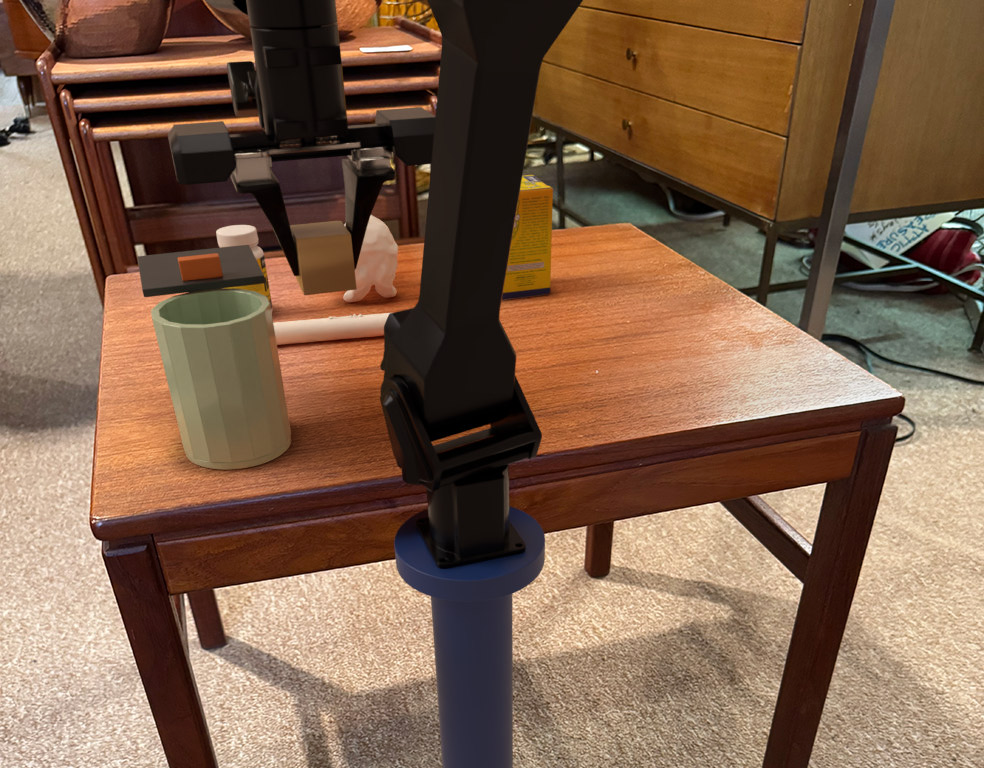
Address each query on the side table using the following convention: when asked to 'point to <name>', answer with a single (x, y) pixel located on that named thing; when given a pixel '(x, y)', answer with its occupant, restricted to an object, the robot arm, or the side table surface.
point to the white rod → (330, 328)
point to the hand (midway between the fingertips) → (324, 271)
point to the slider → (199, 270)
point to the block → (324, 257)
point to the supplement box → (530, 242)
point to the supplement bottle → (248, 236)
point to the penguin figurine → (375, 262)
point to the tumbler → (224, 376)
